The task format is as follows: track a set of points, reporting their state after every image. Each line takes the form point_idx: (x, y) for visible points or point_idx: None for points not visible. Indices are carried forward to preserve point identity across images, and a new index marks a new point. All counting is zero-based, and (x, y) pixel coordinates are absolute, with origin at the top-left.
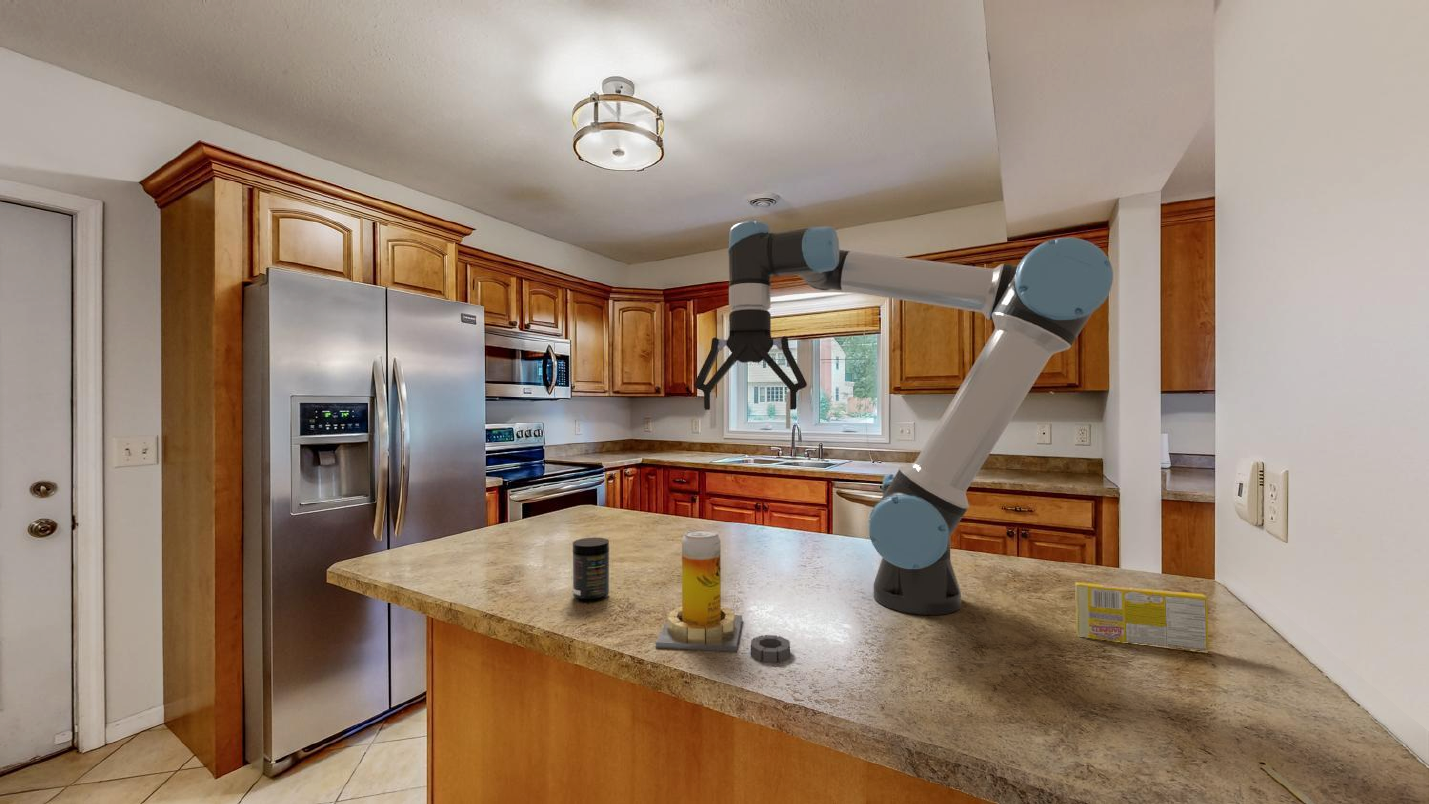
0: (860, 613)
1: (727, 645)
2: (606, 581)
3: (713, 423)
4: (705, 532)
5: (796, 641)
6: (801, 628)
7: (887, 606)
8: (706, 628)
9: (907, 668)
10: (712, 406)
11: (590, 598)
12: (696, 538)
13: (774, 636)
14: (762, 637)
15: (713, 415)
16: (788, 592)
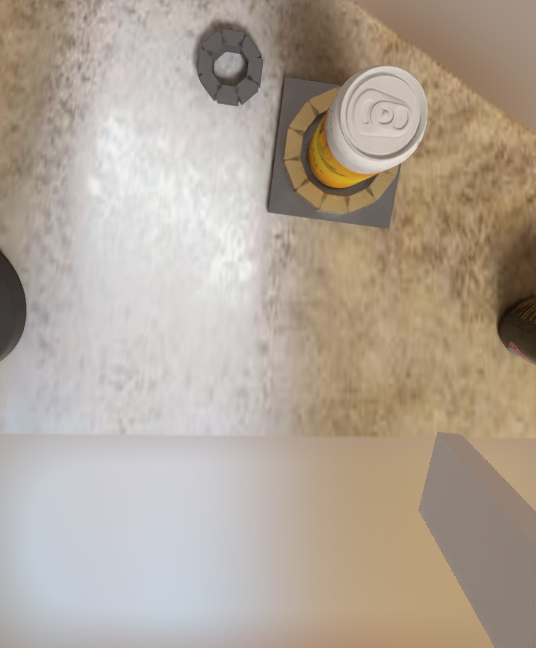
0: (62, 241)
1: (298, 80)
2: (519, 322)
3: (455, 447)
4: (370, 140)
5: (185, 120)
6: (171, 175)
7: (9, 264)
8: (335, 89)
9: (24, 11)
10: (529, 522)
11: (532, 297)
12: (397, 68)
13: (220, 94)
14: (241, 90)
15: (481, 477)
16: (177, 345)
